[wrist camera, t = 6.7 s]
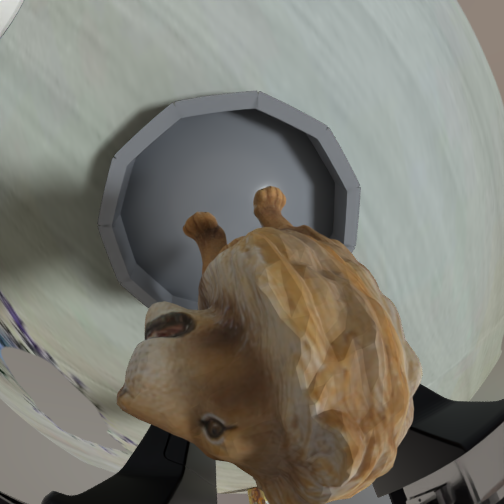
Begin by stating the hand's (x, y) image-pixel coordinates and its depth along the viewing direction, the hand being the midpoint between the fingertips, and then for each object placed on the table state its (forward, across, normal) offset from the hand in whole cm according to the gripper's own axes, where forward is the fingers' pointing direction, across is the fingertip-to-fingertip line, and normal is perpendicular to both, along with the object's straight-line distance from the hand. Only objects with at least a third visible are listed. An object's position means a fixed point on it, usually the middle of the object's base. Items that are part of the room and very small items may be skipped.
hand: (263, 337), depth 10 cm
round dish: (+11, 0, 0) cm, 11 cm away
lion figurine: (+4, +1, -1) cm, 4 cm away
